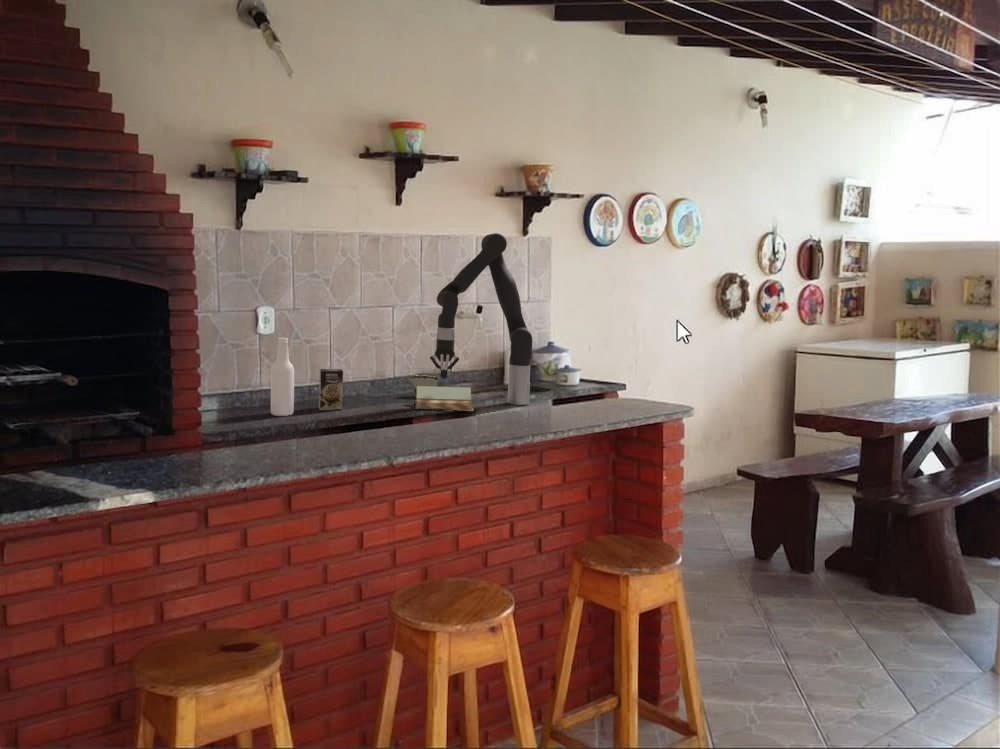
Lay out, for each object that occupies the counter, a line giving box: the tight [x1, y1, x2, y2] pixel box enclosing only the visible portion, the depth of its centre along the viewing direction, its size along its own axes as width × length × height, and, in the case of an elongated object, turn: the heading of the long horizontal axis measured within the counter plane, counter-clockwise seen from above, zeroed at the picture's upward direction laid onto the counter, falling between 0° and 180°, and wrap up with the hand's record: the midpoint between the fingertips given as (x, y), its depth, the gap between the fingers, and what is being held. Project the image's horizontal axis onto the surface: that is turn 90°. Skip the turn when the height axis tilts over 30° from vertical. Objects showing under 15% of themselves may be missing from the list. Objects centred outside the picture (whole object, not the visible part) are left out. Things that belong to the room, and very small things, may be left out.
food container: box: [411, 372, 440, 398], centre depth 421 cm, size 12×6×10 cm, turn 84°
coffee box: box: [318, 368, 344, 411], centre depth 382 cm, size 9×6×16 cm
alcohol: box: [270, 336, 295, 417], centre depth 366 cm, size 9×9×30 cm
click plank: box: [416, 386, 472, 402], centre depth 401 cm, size 23×8×2 cm
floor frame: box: [416, 399, 475, 412], centre depth 398 cm, size 24×16×3 cm, turn 96°
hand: (443, 378), depth 401 cm, fingers closed
